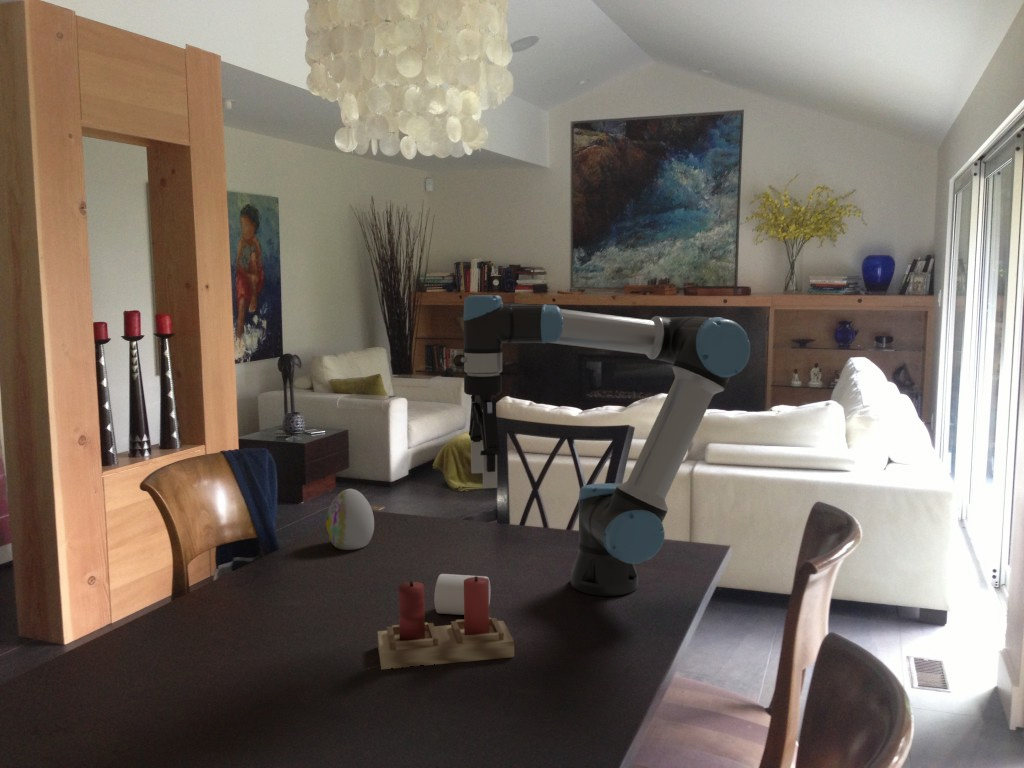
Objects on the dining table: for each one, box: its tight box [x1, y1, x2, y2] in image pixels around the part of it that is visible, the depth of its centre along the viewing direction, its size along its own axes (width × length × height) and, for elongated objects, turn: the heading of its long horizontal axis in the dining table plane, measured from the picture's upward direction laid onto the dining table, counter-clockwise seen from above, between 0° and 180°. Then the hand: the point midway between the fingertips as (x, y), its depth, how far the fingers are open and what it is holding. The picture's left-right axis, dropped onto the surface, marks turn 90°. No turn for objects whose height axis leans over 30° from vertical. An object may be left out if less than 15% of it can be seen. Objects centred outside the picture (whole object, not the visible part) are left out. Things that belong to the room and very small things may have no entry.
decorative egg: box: [325, 488, 375, 551], centre depth 225 cm, size 12×12×15 cm
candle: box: [463, 575, 490, 635], centre depth 161 cm, size 5×5×11 cm
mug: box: [433, 573, 491, 616], centre depth 181 cm, size 12×10×8 cm
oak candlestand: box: [377, 580, 515, 670], centre depth 160 cm, size 24×10×14 cm, turn 102°
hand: (483, 480), depth 173 cm, fingers open, 13 cm apart
